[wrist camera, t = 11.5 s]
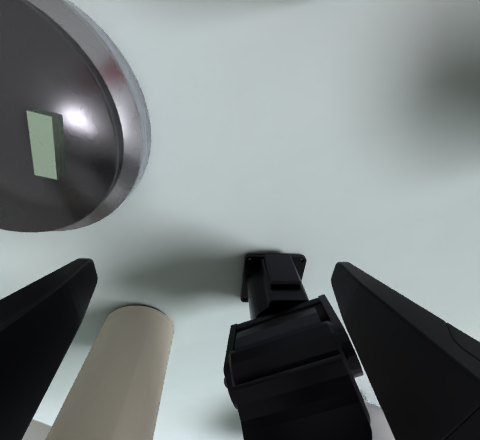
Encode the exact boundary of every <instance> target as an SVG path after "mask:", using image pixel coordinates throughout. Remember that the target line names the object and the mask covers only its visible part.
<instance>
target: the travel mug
mask: <svg viewBox="0 0 480 440" xmlns="http://www.w3.org/2000/svg"><path fill="white" fill-rule="evenodd" d="M173 333H174V327H173V324H172V322H171V320H170V319H169V318H168V317H167V316H166V315H165V314H163V313H162V312H160V311H158V310H156V309H153V308H150V307H146V306H126V307H122V308H119V309H116V310H115V311H113V312H112V313H110V314H109V315H108V317H107V318H106V320H105V322H104V324H103V326H102V328H101V330H100V332H99V334H98V336H97V338H96V340H95V342H94V344H93V346H92V348H91V350H90V352H89V354H88V356H87V358H86V360H85V362H84V364H83V366H82V368H81V370H80V372H79V374H78V376H77V378H76V380H75V382H74V384H73V386H72V388H71V390H70V392H69V394H68V396H67V398H66V400H65V402H64V404H63V406H62V408H61V410H60V412H59V414H58V416H57V418H56V420H55V422H54V424H53V426H52V428H51V430H50V432H49V434H48V436H47V438H46V440H153V435H154V430H155V425H156V420H157V415H158V410H159V405H160V399H161V394H162V389H163V384H164V379H165V374H166V369H167V364H168V359H169V353H170V348H171V343H172V338H173Z"/></svg>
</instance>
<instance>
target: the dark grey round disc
mask: <svg viewBox="0 0 480 440" xmlns="http://www.w3.org/2000/svg"><path fill="white" fill-rule="evenodd" d="M27 1H29V2H30V3H32V4H33V5H35V6H36V7H38V8H39V9H41V10H42V11H43V12H45V13H46V14H47V15H48V16H49V17H51V18H52V19H53V20H54V21H55V22H57V23H58V24H59V25H60V26H61V27H62V28H63V29H64V30H65V31H66V32H67V33H68V34H69V35H70V36H71V37H72V38H73V39H74V40H75V41H76V42H77V43H78V44H79V45H80V47H81V48H82V49H83V50H84V52H85V53H86V54H87V55H88V57H89V58H90V59H91V61H92V62H93V64H94V65H95V66H96V68H97V69H98V71H99V72H100V74H101V75H102V77H103V79H104V81H105V83H106V85H107V87H108V89H109V90H110V92H111V95H112V97H113V100H114V102H115V105H116V107H117V110H118V114H119V117H120V121H121V125H122V131H123V137H124V157H123V165H122V169H121V173H120V176H119V179H118V181H117V183H116V185H115V187H114V189H113V190H112V191H111V193H110V194H109V196H108V197H107V198H106V199H105V200H104V201H103V202H102V203H101V204H100V205H99V206H98V207H97V208H96V209H95V210H94V211H93V212H92V213H90V214H89V215H88V216H86V217H85V218H84V219H82V220H80V221H78V222H76V223H75V224H73V225H70V226H67V227H64V228H61V229H57V230H52V231H64V230H72V229H77V228H81V227H84V226H88V225H90V224H93V223H95V222H97V221H99V220H101V219H103V218H104V217H106V216H108V215H109V214H110V213H112V212H113V211H114V210H115V209H116V208H117V207H118V206H119V205H120V204H121V203H122V202H123V201H124V200H125V198H126V197H127V196H128V195H129V194H130V193H131V192H132V190H133V189H134V188H135V187H136V186H137V184H138V182H139V181H140V179H141V178H142V176H143V173H144V171H145V169H146V166H147V163H148V159H149V154H150V146H151V127H150V120H149V114H148V110H147V106H146V103H145V99H144V96H143V93H142V91H141V88H140V86H139V83H138V81H137V79H136V77H135V75H134V73H133V71H132V70H131V68H130V66H129V64H128V62H127V61H126V59H125V58H124V56H123V55H122V53H121V52H120V51H119V49H118V48H117V46H116V45H115V44H114V43H113V41H112V40H111V39H110V38H109V37H108V35H107V34H106V33H105V32H104V31H103V30H102V29H101V28H100V27H99V26H98V25H97V24H96V23H95V22H94V21H93V20H92V19H91V18H90V17H89V16H88V15H87V14H85V13H84V12H83V11H82V10H80V9H79V8H78V7H77V6H75V5H74V4H73V3H72V2H70V1H69V0H27Z"/></svg>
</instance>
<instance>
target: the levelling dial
mask: <svg viewBox="0 0 480 440" xmlns="http://www.w3.org/2000/svg"><path fill="white" fill-rule="evenodd" d="M123 157H124V137H123V131H122V125H121V121H120V117H119V114H118V110H117V107H116V105H115V102H114V100H113V97H112V95H111V92H110V90H109V89H108V87H107V85H106V83H105V81H104V79H103V77H102V75H101V74H100V72H99V71H98V69H97V68H96V66H95V65H94V64H93V62H92V61H91V59H90V58H89V57H88V55H87V54H86V53H85V52H84V50H83V49H82V48H81V47H80V45H79V44H78V43H77V42H76V41H75V40H74V39H73V38H72V37H71V36H70V35H69V34H68V33H67V32H66V31H65V30H64V29H63V28H62V27H61V26H60V25H59V24H58V23H57V22H55V21H54V20H53V19H52V18H51V17H49V16H48V15H47V14H46V13H45V12H43V11H42V10H41V9H39V8H38V7H36V6H35V5H33V4H32V3H30V2H29V1H27V0H0V229H4V230H9V231H18V232H45V231H52V230H57V229H61V228H64V227H67V226H70V225H73V224H75V223H76V222H78V221H80V220H82V219H84V218H85V217H86V216H88V215H89V214H90V213H92V212H93V211H94V210H95V209H96V208H97V207H98V206H99V205H100V204H101V203H102V202H103V201H104V200H105V199H106V198H107V197H108V196H109V194H110V193H111V191H112V190H113V189H114V187H115V185H116V183H117V181H118V179H119V176H120V173H121V169H122V165H123Z"/></svg>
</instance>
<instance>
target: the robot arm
mask: <svg viewBox="0 0 480 440" xmlns="http://www.w3.org/2000/svg"><path fill="white" fill-rule="evenodd" d="M249 258H251V259H250V260H248V259H249ZM301 259H303V260H301ZM300 260H301V261H300ZM305 265H306V258H305V256H304V255H288V254H247V255H246V256H245V258H244V267H243V277H242V287H241V301H242V302H249V308H250V316H251V320H250V321H247V322H244V323H241V324H234V325H231V328H230V334H229V339H228V345H227V351H226V357H225V363H224V375H225V378H224V384H225V386H226V387H227V388H228V392H229V395H230V398H231V400H232V402H233V405H234V406H235V408H236V409H238V412H239V416H240V420H241V425H242V431H243V437H244V440H372V429H371V426H370V424H371V421H370V415H369V412H368V410H367V407H366V405H365V403H364V400H363V398H362V396H361V393H360V391H359V388H358V386H357V384H356V381H355V379H354V378H355V377H359V376H362V375H363V371H362V368H361V365H360V362H359V360H358V358H357V355H356V353H355V350H354V348H353V346H352V344H351V342H350V339H349V337H348V335H347V333H346V331H345V329H344V327H343V325H342V324H341V322H340V320H339V318H338V317H337V315H336V313H335V312H334V310H333V308H332V306H331V305H330V303H329V301H328V300H327V298H326V296H325V295H321V296H318V298H315V299H312V300H309V299H308V297H307V294H306V292H305V289H304V287H303V285H302V281H301V280H302V276H303V272H304V269H305ZM97 280H98V277H97V273H96V269H95V266H94V262H93V260H92V259H89V258H79V259H77V260H75V261H73V262H71V263H69V264H67V265H65V266H63V267H61V268H60V269H58V270H56V271H54V272H52V273H50V274H48V275H46V276H44V277H43V278H41V279H39V280H37V281H35V282H33V283H31V284H29V285H28V286H26V287H24V288H22V289H20V290H18V291H16V292H14V293H12V294H11V295H9V296H7V297H5V298H3V299H1V300H0V440H22V438H23V436H24V434H25V432H26V430H27V428H28V426H29V424H30V422H31V420H32V418H33V417H34V415H35V413H36V411H37V409H38V407H39V405H40V403H41V401H42V399H43V397H44V395H45V393H46V391H47V389H48V387H49V385H50V383H51V382H52V380H53V378H54V376H55V374H56V372H57V370H58V368H59V366H60V364H61V362H62V360H63V358H64V356H65V354H66V352H67V350H68V348H69V346H70V345H71V343H72V341H73V339H74V337H75V335H76V333H77V331H78V329H79V327H80V325H81V323H82V320H83V318H84V315H85V313H86V310H87V308H88V305H89V302H90V300H91V297H92V295H93V292H94V289H95V287H96V284H97ZM331 284H332V287H333V290H334V294H335V297H336V300H337V303H338V306H339V309H340V313H341V316H342V318H343V321H344V324H345V326H346V328H347V331H348V333H349V335H350V337H351V340H352V342H353V344H354V347H355V349H356V351H357V353H358V356H359V358H360V360H361V363H362V365H363V367H364V370H365V372H366V374H367V376H368V379H369V381H370V383H371V386H372V388H373V390H374V392H375V395H376V397H377V399H378V402H379V404H380V406H381V408H382V411H383V413H384V415H385V418H386V420H387V422H388V424H389V427H390V429H391V431H392V434H393V436H394V438H395V440H480V342H479V341H477V340H475V339H473V338H472V337H470V336H468V335H467V334H465V333H463V332H462V331H460V330H458V329H457V328H455V327H454V326H452V325H450V324H449V323H446V322H445V321H444V320H442V319H440V318H439V317H437V316H436V315H434V314H432V313H431V312H429V311H427V310H426V309H424V308H422V307H421V306H419V305H418V304H416V303H414V302H413V301H411V300H409V299H408V298H406V297H404V296H403V295H401V294H400V293H398V292H396V291H395V290H393V289H391V288H390V287H388V286H387V285H385V284H383V283H382V282H380V281H378V280H377V279H375V278H373V277H372V276H370V275H369V274H367V273H365V272H364V271H362V270H360V269H359V268H357V267H355V266H354V265H352V264H351V263H349V262H338V263H337V264H336V265H335V268H334V271H333V274H332V277H331ZM245 297H246V298H245Z"/></svg>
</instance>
